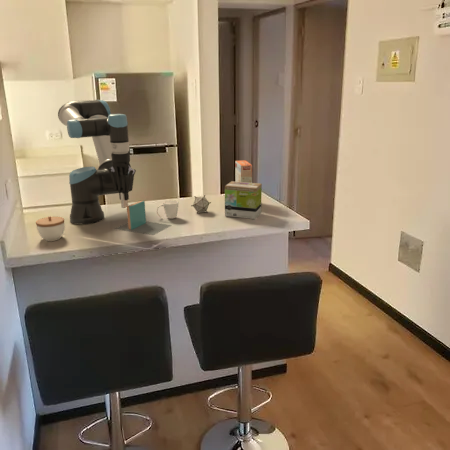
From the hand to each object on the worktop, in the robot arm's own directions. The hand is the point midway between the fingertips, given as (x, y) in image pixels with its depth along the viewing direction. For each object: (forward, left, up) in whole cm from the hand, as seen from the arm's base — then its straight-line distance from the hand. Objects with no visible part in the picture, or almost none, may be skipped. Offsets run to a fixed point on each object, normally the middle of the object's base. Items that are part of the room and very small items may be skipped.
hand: (124, 207), depth 204 cm
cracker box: (+32, +53, -9) cm, 63 cm away
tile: (+6, 0, -8) cm, 10 cm away
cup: (+12, +15, -9) cm, 21 cm away
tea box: (+40, +35, -9) cm, 54 cm away
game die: (+20, +31, -9) cm, 38 cm away
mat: (+9, 0, -8) cm, 12 cm away
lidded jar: (-17, -26, -9) cm, 32 cm away
